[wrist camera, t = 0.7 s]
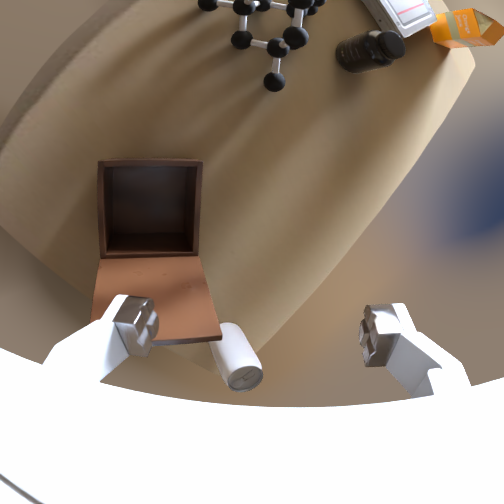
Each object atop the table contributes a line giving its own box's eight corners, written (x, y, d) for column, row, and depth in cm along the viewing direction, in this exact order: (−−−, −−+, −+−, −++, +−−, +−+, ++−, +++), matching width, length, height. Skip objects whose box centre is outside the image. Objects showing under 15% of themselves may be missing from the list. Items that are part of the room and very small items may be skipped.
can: (200, 334, 50) (216, 380, 40) (230, 314, 51) (253, 356, 40) (219, 355, 53) (238, 399, 43) (247, 336, 54) (272, 378, 43)
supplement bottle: (361, 43, 41) (406, 30, 31) (366, 76, 44) (413, 67, 33) (331, 38, 40) (376, 20, 29) (336, 72, 42) (384, 60, 32)
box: (109, 158, 36) (97, 160, 27) (191, 158, 40) (203, 160, 32) (109, 236, 40) (100, 260, 31) (187, 235, 44) (198, 257, 35)
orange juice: (451, 49, 48) (512, 45, 30) (433, 42, 46) (500, 36, 28) (444, 23, 45) (503, 16, 27) (426, 16, 43) (490, 4, 25)
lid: (87, 342, 21) (89, 348, 21) (223, 335, 25) (222, 340, 25) (99, 258, 30) (100, 264, 31) (199, 255, 35) (198, 261, 35)
